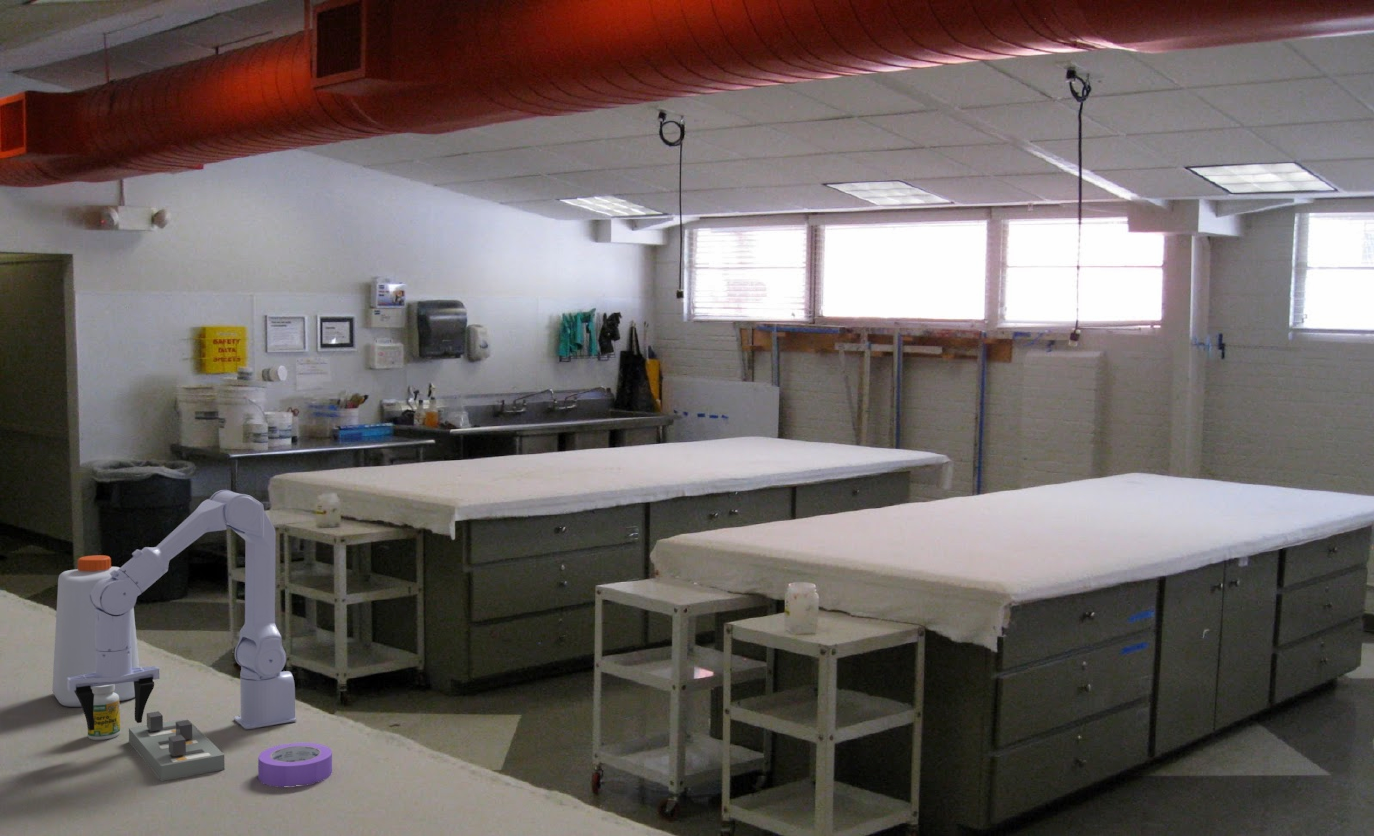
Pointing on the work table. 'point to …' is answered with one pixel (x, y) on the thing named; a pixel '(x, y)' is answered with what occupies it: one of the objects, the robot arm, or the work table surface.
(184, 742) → the block
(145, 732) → the switch panel
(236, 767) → the work table surface
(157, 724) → the slider back
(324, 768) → the masking tape
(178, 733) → the slider middle
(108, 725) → the supplement bottle
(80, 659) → the plastic bottle
